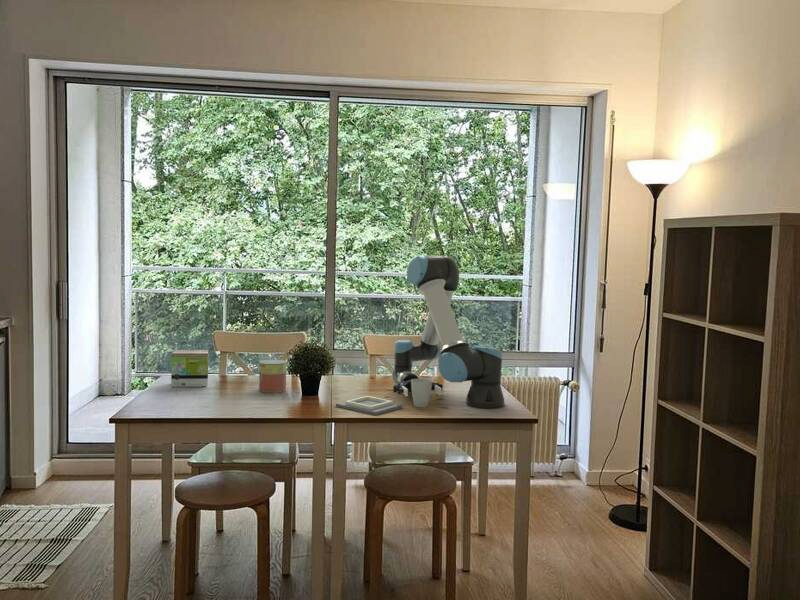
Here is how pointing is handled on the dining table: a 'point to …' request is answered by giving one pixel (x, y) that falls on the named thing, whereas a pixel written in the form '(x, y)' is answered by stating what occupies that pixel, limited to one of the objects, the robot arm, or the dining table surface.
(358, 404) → the grey rectangular frame
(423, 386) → the cup
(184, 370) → the tea box
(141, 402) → the dining table surface
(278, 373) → the canned food
